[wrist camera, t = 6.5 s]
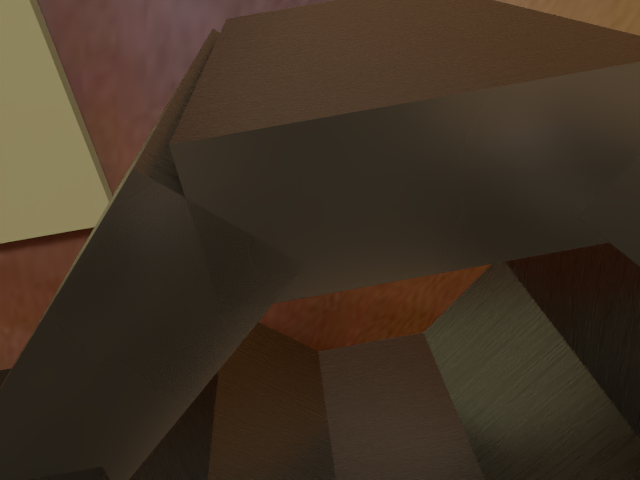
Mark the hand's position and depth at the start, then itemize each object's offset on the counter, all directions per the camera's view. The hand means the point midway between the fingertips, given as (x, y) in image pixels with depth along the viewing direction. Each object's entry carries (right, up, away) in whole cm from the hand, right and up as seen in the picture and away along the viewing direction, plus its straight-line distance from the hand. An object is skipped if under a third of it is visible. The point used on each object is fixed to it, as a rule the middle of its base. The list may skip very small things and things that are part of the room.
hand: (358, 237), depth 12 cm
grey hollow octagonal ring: (0, 0, 0) cm, 0 cm away
